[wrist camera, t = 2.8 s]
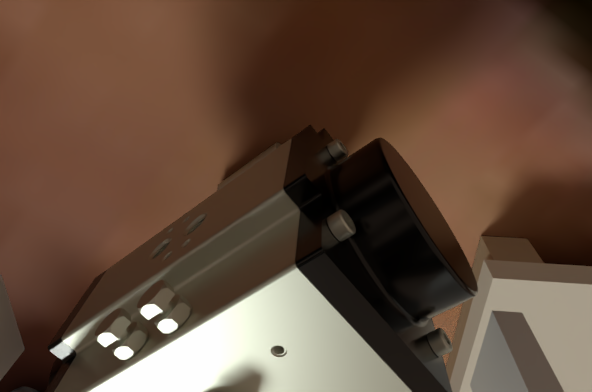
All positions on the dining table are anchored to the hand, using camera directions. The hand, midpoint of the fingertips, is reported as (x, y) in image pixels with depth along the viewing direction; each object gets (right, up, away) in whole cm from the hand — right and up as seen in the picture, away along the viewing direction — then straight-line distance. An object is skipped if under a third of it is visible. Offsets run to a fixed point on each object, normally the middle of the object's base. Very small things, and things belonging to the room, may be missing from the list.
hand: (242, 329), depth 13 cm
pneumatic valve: (0, +4, +7) cm, 8 cm away
